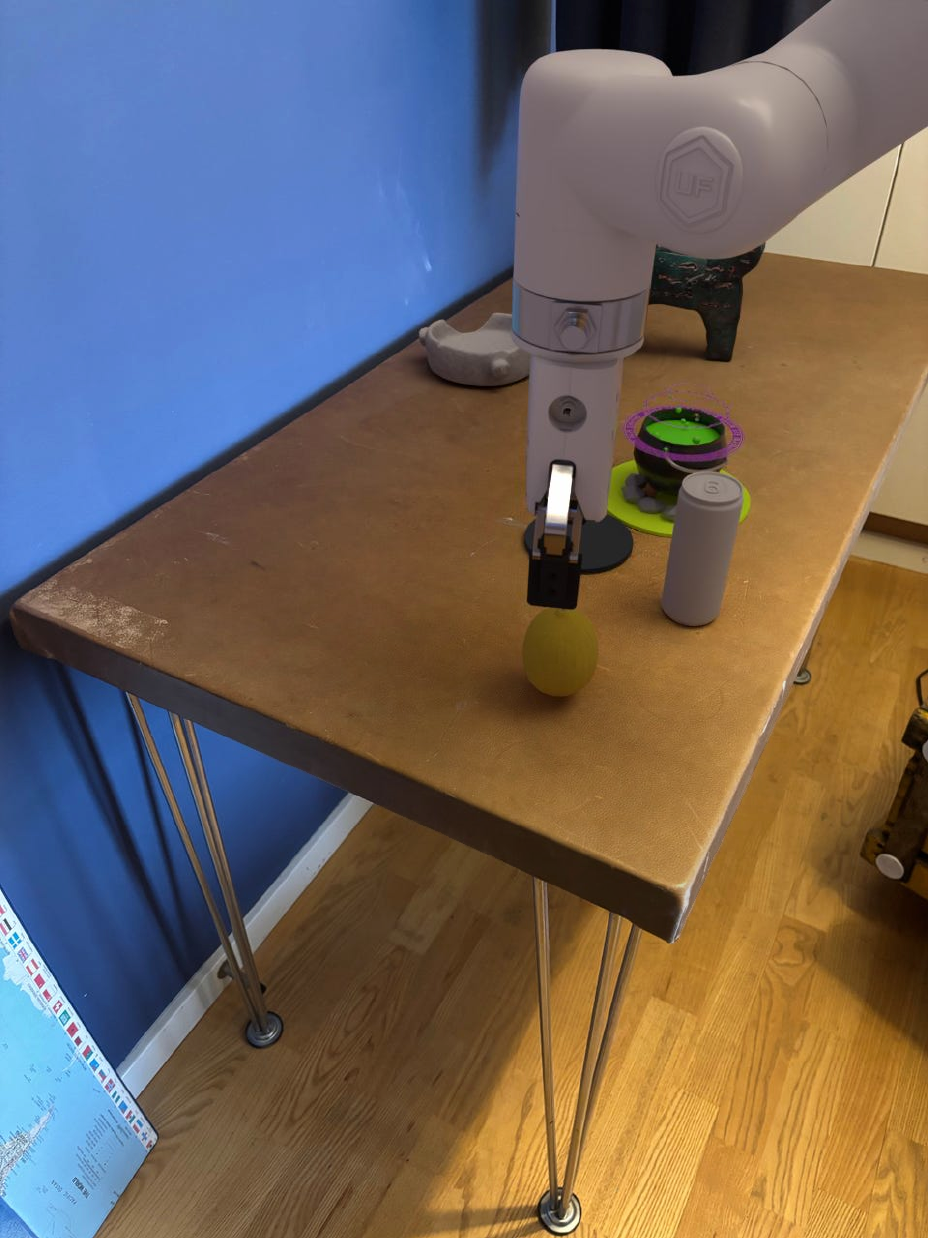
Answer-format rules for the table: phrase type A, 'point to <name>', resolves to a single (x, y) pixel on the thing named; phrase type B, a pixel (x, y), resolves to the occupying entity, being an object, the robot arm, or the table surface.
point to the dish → (476, 353)
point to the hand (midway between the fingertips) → (558, 560)
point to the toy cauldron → (668, 463)
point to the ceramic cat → (705, 292)
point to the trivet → (596, 543)
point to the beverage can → (701, 547)
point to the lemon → (560, 651)
